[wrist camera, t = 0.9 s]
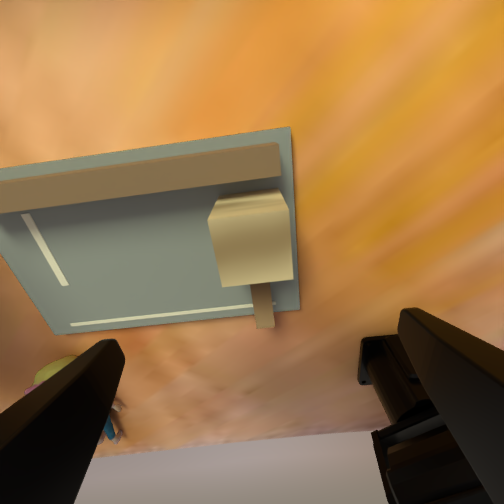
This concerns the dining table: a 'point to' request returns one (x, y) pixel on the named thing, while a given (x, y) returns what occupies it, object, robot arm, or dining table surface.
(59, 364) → the figurine
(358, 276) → the dining table surface
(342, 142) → the dining table surface
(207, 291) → the board
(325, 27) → the dining table surface
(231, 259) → the wooden block with peg
